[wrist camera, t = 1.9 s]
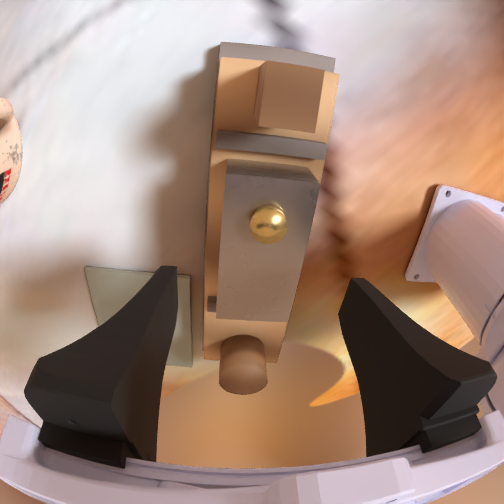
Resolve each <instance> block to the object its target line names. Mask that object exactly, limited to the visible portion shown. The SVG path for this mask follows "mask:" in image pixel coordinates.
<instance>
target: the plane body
mask: <svg viewBox="0 0 504 504" xmlns="http://www.w3.org/2000/svg"><path fill="white" fill-rule="evenodd" d="M335 59H336V58H332V57H327V56H323V55H318V54H313V53H308V52H302V51H297V50H291V49H284V48H278V47H270V46H262V45H253V44H243V43H231V42H221V44H220V53H219V61H218V70H217V80H216V89H215V100H214V110H213V121H212V133H211V146H210V160H209V174H208V190H207V208H206V229H205V254H204V288H203V351H204V359H206V360H220V372H219V384H220V386H221V387H222V388H223V389H224V390H226V391H227V392H230V393H234V394H241V395H246V394H252V393H256V392H258V391H260V390H262V389H263V388H264V387H265V386H266V385H267V370H266V362H269V363H272V362H273V363H276V362H277V360H278V357H279V353H280V349H281V346H282V342H283V339H284V335H285V331H286V327H287V324H288V322H267V321H246V320H229V319H216V304H217V286H218V270H219V254H220V239H221V225H222V212H223V199H224V187H225V175H226V167H227V160H228V158H230V159H241V160H252V161H262V162H272V163H281V164H289V165H297V166H305V167H308V168H309V169H310V170H311V172H312V173H313V174H314V176H315V177H316V178H317V180H318V181H319V182H321V177H322V171H323V166H324V161H325V156H326V151H327V145H328V140H329V134H330V129H331V123H332V117H333V111H334V105H335V99H336V93H337V86H338V80H339V74H337V73H334V66H335Z"/></svg>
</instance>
